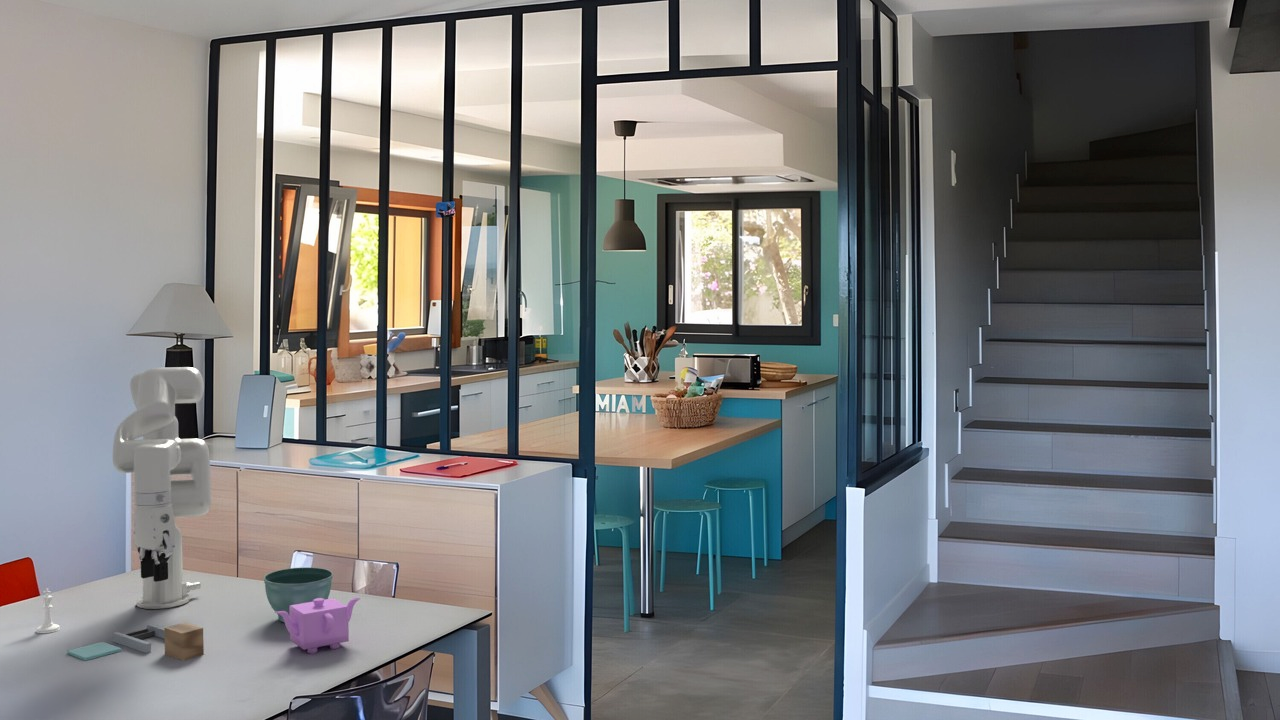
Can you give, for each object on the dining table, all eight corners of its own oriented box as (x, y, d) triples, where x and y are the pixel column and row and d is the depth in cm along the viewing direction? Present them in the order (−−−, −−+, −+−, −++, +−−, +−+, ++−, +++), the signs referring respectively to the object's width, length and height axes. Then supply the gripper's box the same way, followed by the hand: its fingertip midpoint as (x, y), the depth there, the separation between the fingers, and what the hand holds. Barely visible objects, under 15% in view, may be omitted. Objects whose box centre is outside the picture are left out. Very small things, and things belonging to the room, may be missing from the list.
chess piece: (49, 634, 253) (48, 591, 253) (31, 632, 254) (30, 590, 254) (64, 627, 258) (63, 586, 258) (46, 626, 259) (45, 585, 259)
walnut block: (185, 648, 243) (185, 622, 243) (203, 654, 239) (203, 627, 239) (164, 654, 239) (164, 627, 239) (182, 660, 235) (182, 633, 235)
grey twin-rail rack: (150, 632, 255) (150, 623, 255) (184, 642, 247) (184, 634, 247) (113, 641, 248) (113, 632, 248) (146, 653, 240) (146, 644, 239)
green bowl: (347, 614, 270) (346, 571, 270) (301, 631, 256) (300, 586, 255) (297, 606, 277) (296, 564, 276) (249, 623, 262) (249, 579, 262)
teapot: (330, 659, 236) (329, 609, 235) (274, 655, 238) (273, 606, 238) (362, 638, 251) (361, 592, 250) (309, 634, 253) (308, 588, 253)
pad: (102, 644, 246) (102, 641, 246) (121, 651, 241) (121, 648, 241) (66, 653, 239) (66, 650, 239) (85, 660, 235) (85, 657, 235)
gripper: (189, 500, 242) (191, 581, 243) (148, 492, 252) (150, 570, 253) (157, 505, 236) (159, 588, 237) (116, 497, 246) (118, 576, 247)
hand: (154, 577), depth 245 cm, fingers open, 4 cm apart
